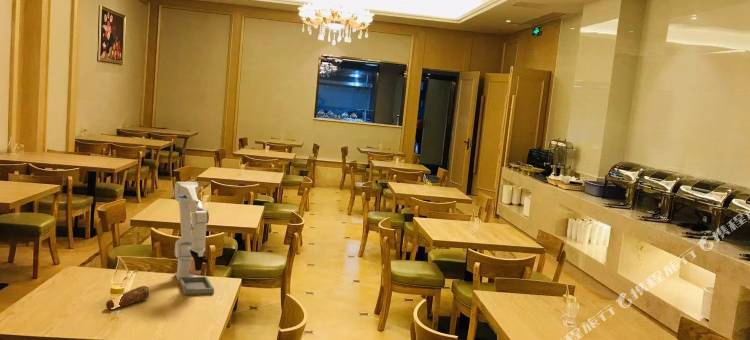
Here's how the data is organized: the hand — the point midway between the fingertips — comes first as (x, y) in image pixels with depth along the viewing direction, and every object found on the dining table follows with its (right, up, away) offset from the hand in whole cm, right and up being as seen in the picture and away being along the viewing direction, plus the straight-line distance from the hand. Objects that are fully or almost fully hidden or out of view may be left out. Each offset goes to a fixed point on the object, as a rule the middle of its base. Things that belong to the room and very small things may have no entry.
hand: (197, 268), depth 276 cm
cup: (-1, -2, 0) cm, 2 cm away
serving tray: (-1, -9, +1) cm, 9 cm away
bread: (-20, -11, -26) cm, 34 cm away
